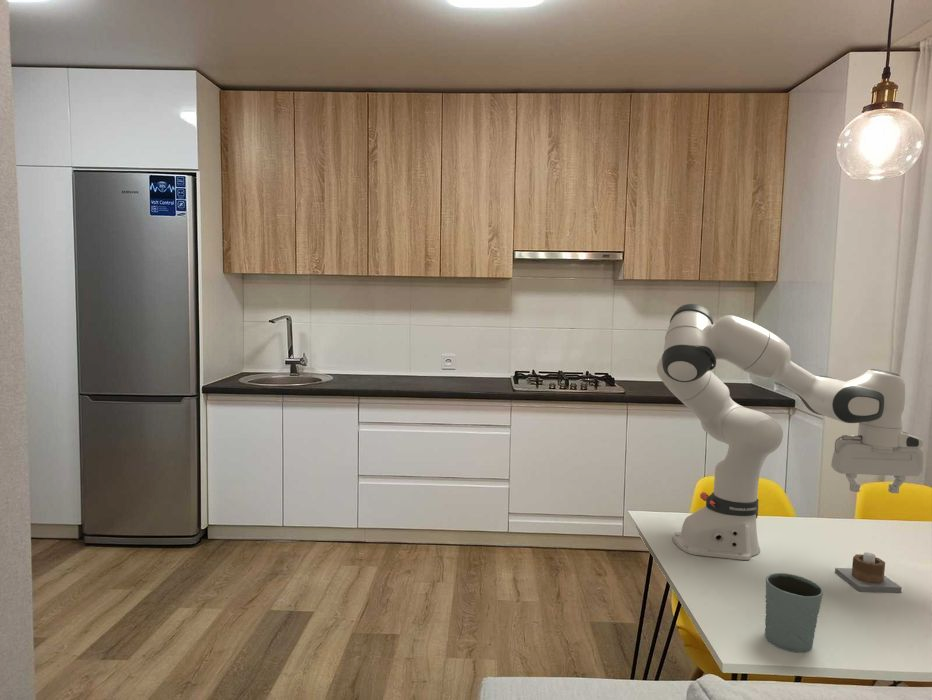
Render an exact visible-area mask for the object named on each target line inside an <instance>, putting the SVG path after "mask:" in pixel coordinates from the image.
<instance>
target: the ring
mask: <svg viewBox="0 0 932 700" xmlns="http://www.w3.org/2000/svg"><path fill="white" fill-rule="evenodd" d="M863 557H864V554H861V553H860V554H855V555H854V556H853V557H852V565H851V568H852V575H853V576H854V577H855V578H857V579H858V580H861V581H865V582H868V583H882V582H883V580H884V576H885V570H886V569H885V568H886V562H885V561H884V560H882V559H881V558H879V557H877V556H875V563H868V562H864V561H863Z"/></svg>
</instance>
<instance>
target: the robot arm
mask: <svg viewBox="0 0 932 700" xmlns="http://www.w3.org/2000/svg"><path fill="white" fill-rule="evenodd" d="M669 320H670V321H669V326H668V327H667V330H666V334H665V337H664V346H663V353H662V355H661V358H660V359H659V360H658V363H657V366H656V372H657V376H658V377H659V379H660V380H661V381H662V383H663V384H664V386H665V387H666V388H667V389H668V391H670V392H671V393H672V394H673V396H675V397H676V399H678V400H679V401H680V402H681V403H682V404H683V405H684V406H685V407H686V408H688V409H689V411H691V412H692V413H693V414H694V415H695V417H697V418H698V419H699V421H700V425H701V426H702V427H701V428H702V429H703V431H705V433H707V435H709V436H710V437H712V438H714V440H716V441H719V442H721V443H725V444H726V445H728V450H727V453H726V456H725V458H724V459H723V460H720V461H719V462H718V463H717V464H716V465H715V468H714V480H713V492H712V493H711V494H708V493H706V492H705V491H703V492H701V493H700V495H699V497H700V499H701V500H702V501H704V502H705V505H704V506H703V507H701V508H700V509H698V510H696V511H695V512H693V513H690V515H688V516H687V517H685V519H684V521H683V523H682V528H681V531H675V532H674V533H673V534H672V540H673V542H674V543H675V545H676V546H677V547H678V548H679V549H680V550H681V551H683V552H685V553H687V554H690V555H694V556H703V557H714V558H721V559H732V560H740V561H741V560H742V561H743V560H744V561H748V560H750V559H751V558H752V557H753V556H756V555H758V554H759V553H760V551H761V548H760V544H759V541H758V533H757V532H758V530H757V519H758V515H759V498H758V490H759V480H760V473H761V469H762V467H763V465H764V462H765V460H766V459H767V457H768V456H769V455H770V454H772V453H773V452H775V451H776V450H777V449H778V448H779V447H780V445H781V444H782V442H783V437H784V430H783V428H782V425H781V424H780V422H779V421H778V420H777V419H775V418H773V417H771V416H770V415H768V414H767V413H765V412H763V411H759V410H757V409H756V410H755V409H751V408H748V407H745V406H743V405H740V404H739V403H737V402H736V401H734V400H733V399H732V397H731V395H730V393H731V392H730V388H729V387H728V386H727V385H726V384H725V383H724V382H723V381H722V380H721V379H720V378H719V377H718V376H717V375H716V374H714V372H713V370H714V369H715V367H716V366H717V360H723V361H727V362H728V363H730V364H732V365H733V366H735V367H737V368H739V369H740V370H742V371H744V372H746V373H747V374H749V375H752V376H754V377H757V378H759V379H763V380H766V381H769V380H770V381H771V380H772V381H774V382H776V383H777V384H779V385H780V386H782V387H784V388H786V389H788V390H789V391H791V392H792V393H794V394H795V395H797V397H799V399H800V400H801V402H802V403H803V405H804V406H805V407H806V408H807V409H808V410H809V411H810V412H812V413H814V414H816V415H819V416H824V417H826V418H830V419H831V420H832V419H833V420H835V421H838V422H841V423H844V424H845V423H846V424H858V430H857V435H853V434H852V435H849V434H848V435H847V434H846V435H845V434H843V435H841V436H839V437H838V438H836V439H835V441H834V450H833V453H832V459H831V465H830V467H831V468H832V469H833V471H835V472H836V473H838V474H840V475H841V474H842V475H845V477H846V479H847V481H848V483H849V491H851V492H852V493H859V492H860V488H861V485H860V484H858V483H857V482H856V479H857V476H858V475H870V476H871V475H872V476H893V478H895V479H894V480H893V482H892V483H891V484H888V489H887V490H888V492H889V493H891V494H899V493H900V488H901V486H902V484H904V482H905V481H906V477H919V476H920V475H921V474H922V473H923V470H924V452H923V449H921V448H922V447H923V444H924V440H923V439H921V438H920V437H917V436H914V435H912V434H909V433H908V432H905V431H903V422H902V416H903V415H902V414H904V413H903V412H904V411H905V404H906V384H905V381H904V380H905V379H904V378H903V377H902V376H901V375H900V374H898V373H895V372H892V371H887V370H881V369H878V368H877V369H876V368H871V369H870V368H869V369H868V370H867V371H866V372H864V373H862V374H860V375H859V376H857V377H855V378H852V379H850V380H845V381H844V380H841V379H836V378H833V377H831V376H827V375H820V374H819V375H816V374H813V373H811V372H810V371H808V370H807V369H804V368H803V367H801V366H799V365H798V364H796V363H795V362H793V361H792V359H791V358H792V352H791V348H790V345H789V344H788V343H786V342H785V341H784V340H783V339H782V338H780V337H779V336H778V335H776V334H775V333H774V332H772V331H770V330H768V329H767V328H764V327H763V326H760V325H759V324H757V323H755V322H753V321H750V320H748V319H744V318H742V317H739V316H736V315H732V314H728V315H724V316H721V317H720V318H718V319H717V320H715V322H714V318H713V316H712V313H711V312H710V311H709V309H707V308H706V307H705V306H702V305H699V304H695V303H687V304H683V305H681V306H679V307H678V308H677V309H676V310H675V311H674V312H673V314H672V316H671V318H670V319H669Z"/></svg>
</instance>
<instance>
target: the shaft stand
mask: <svg viewBox="0 0 932 700" xmlns="http://www.w3.org/2000/svg"><path fill="white" fill-rule="evenodd" d="M863 555H864V557H863V561H864V562H868V563H875V557H876V555H875V554H874V553H871V552H864V553H863ZM834 573H835V574H836V575H837V576H839V577H840V578H842V579H843V580H844V581H845V582H847V583H848V584H849V585H851V586H852V587H853V588H854V589H856V590H857V591H858V592H871V593H873V592H874V593H877V592H879V593H902V590H903V587H902V586H900V585H899V584H897V583H896V582H895V581H893V580H892V579H890V578H889V577H887V576H886V575H884V580H883V582H882V583H868V582H865V581H861V580H858V579H857V578H855V577H854V576H853V575H852V567H849V568H848V567H845V568H844V567H835V570H834Z"/></svg>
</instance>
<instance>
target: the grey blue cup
mask: <svg viewBox="0 0 932 700" xmlns="http://www.w3.org/2000/svg"><path fill="white" fill-rule="evenodd" d="M823 595H824V591H823V588H822V586H820V585H819V584H818V583H817V582H815V581H812V580H810V579H808V578H806V577H802V576H799V575H795V574H791V573H786V572H785V573H784V572H775V573H770V574H768V575H767V576H766V577H765V616H764V617H765V619H764V625H765V627H764V636H765V639H766V641H767V642H769V643H770V644H771V645H772V646H774V647H776V648H777V649H781V650H783V651H786V652H789V653H798V654H799V653H801V654H802V653H808V652H810V651H811V650H812V648H813V644H814V638H815V633H816V628H817V623H818V617H819V616H818V615H819V613H820V609H821V604H822V600H823Z"/></svg>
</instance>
